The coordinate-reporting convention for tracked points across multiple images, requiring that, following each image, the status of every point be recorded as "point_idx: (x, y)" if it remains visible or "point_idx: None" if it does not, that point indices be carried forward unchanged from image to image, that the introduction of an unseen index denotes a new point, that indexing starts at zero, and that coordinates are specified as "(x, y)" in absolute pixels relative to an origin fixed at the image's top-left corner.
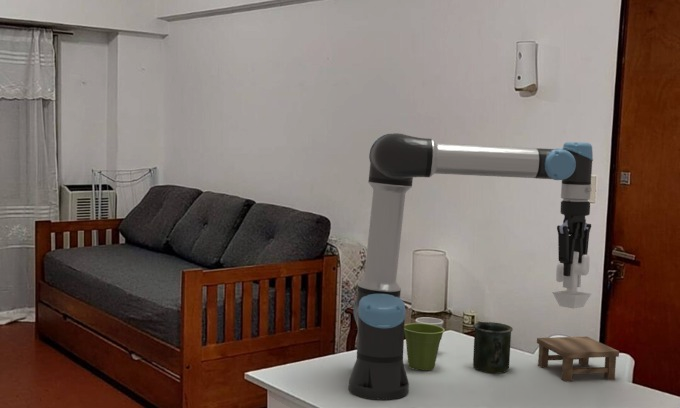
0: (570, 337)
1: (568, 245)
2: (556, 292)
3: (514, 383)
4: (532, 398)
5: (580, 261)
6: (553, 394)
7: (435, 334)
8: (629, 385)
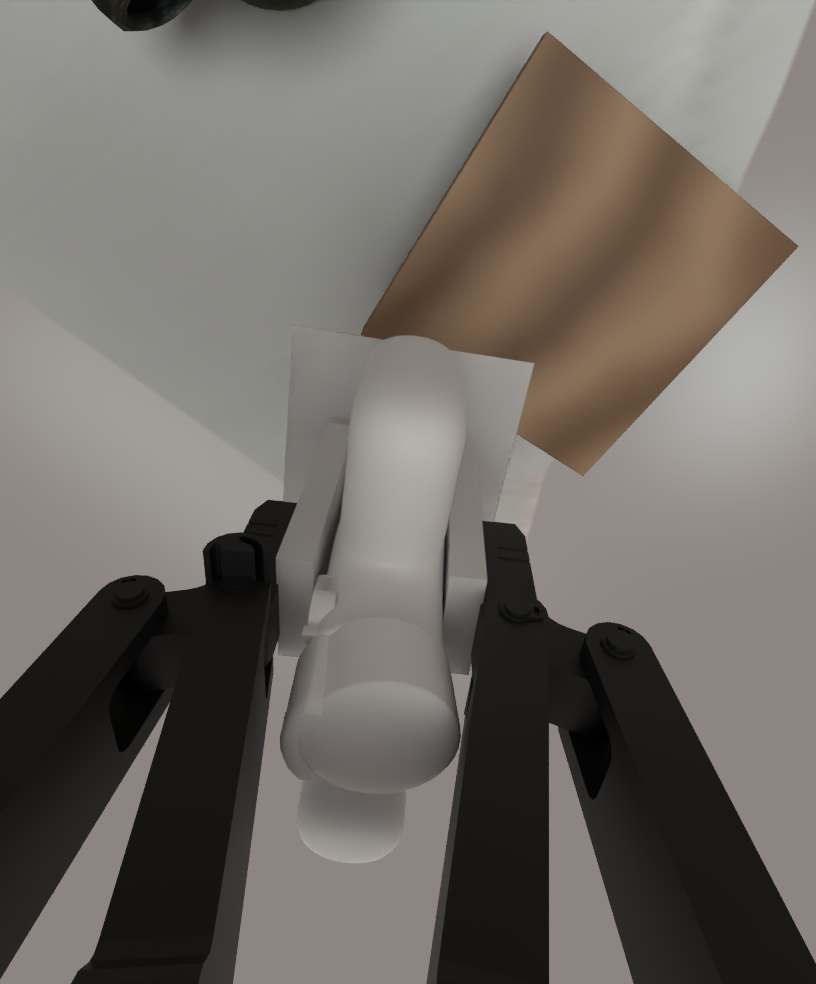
0: (708, 187)
1: (33, 897)
2: (315, 356)
3: (180, 152)
4: (101, 309)
5: (471, 680)
6: (207, 339)
7: None
8: (526, 471)
